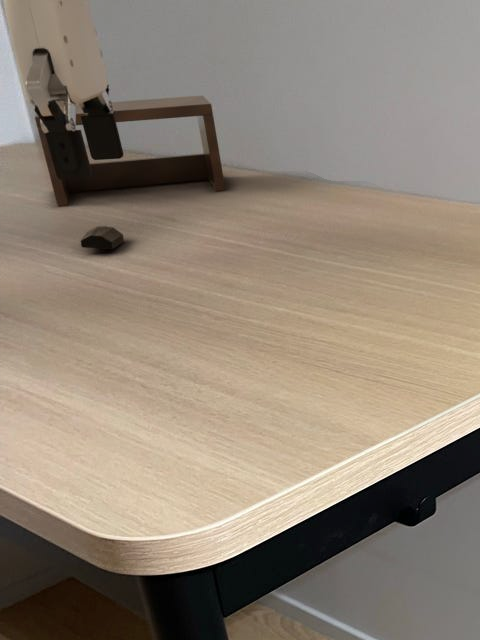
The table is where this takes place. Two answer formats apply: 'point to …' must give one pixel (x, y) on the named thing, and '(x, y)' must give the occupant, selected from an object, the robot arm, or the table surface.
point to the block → (102, 238)
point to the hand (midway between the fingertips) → (92, 168)
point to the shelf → (148, 168)
